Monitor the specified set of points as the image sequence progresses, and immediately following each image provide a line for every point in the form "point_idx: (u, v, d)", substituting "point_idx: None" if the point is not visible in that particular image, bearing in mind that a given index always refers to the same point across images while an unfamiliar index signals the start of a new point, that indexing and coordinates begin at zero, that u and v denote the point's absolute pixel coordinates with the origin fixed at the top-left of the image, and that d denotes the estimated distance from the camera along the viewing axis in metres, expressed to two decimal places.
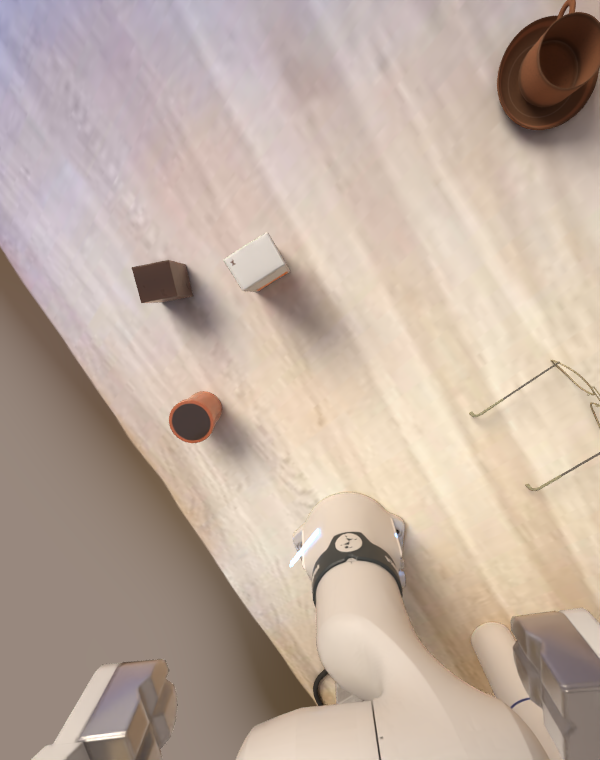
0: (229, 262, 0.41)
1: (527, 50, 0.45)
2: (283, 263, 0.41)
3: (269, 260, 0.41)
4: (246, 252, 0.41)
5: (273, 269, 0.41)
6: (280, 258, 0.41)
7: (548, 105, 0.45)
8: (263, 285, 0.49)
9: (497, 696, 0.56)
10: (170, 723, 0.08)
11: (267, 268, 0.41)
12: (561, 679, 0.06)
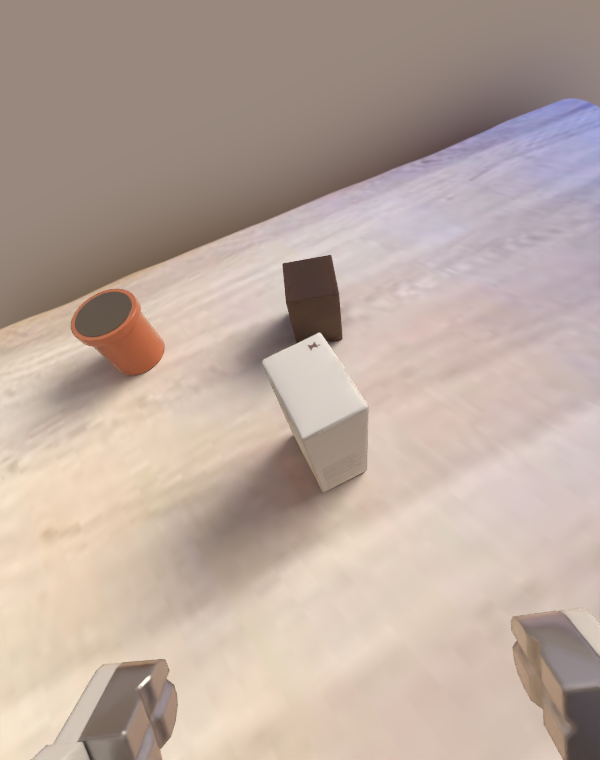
0: (315, 340, 0.22)
1: None
2: (303, 436, 0.19)
3: (312, 408, 0.20)
4: (330, 368, 0.21)
5: (292, 415, 0.20)
6: (314, 430, 0.19)
7: None
8: None
9: None
10: (170, 723, 0.08)
11: (296, 404, 0.20)
12: (561, 679, 0.06)
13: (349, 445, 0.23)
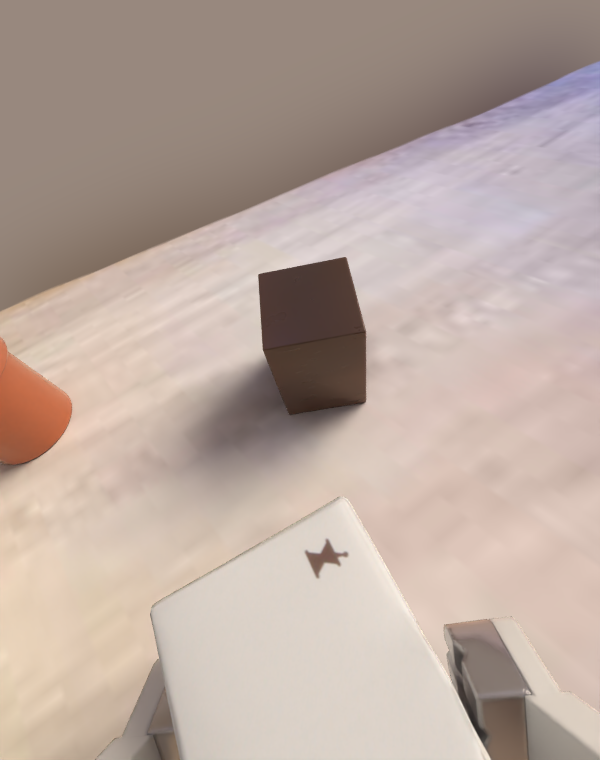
0: (329, 533, 0.07)
1: None
2: None
3: None
4: (396, 679, 0.05)
5: None
6: None
7: None
8: None
9: None
10: None
11: None
12: (477, 688, 0.07)
13: None
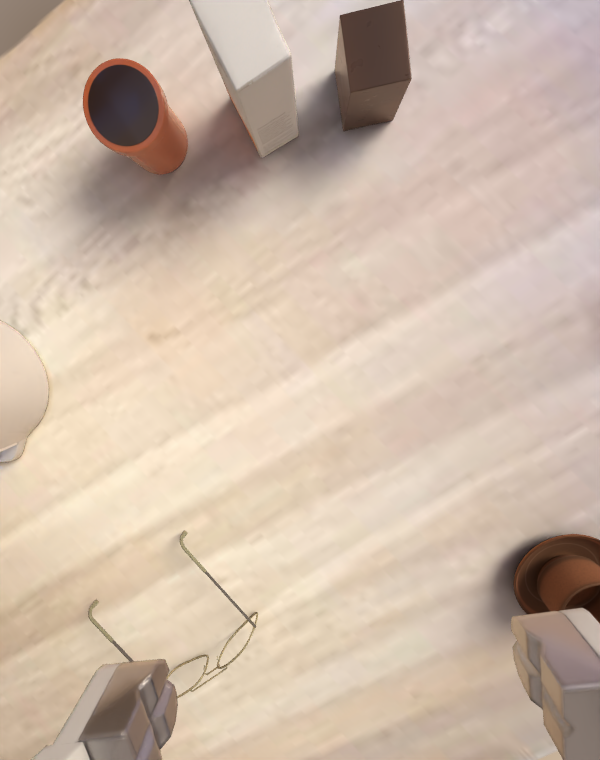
0: None
1: (593, 558, 0.42)
2: (237, 87, 0.23)
3: (242, 57, 0.22)
4: (257, 7, 0.22)
5: (225, 65, 0.23)
6: (245, 81, 0.23)
7: (539, 587, 0.41)
8: (227, 90, 0.29)
9: None
10: (170, 724, 0.08)
11: (228, 52, 0.22)
12: (561, 679, 0.06)
13: (278, 101, 0.26)
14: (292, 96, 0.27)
